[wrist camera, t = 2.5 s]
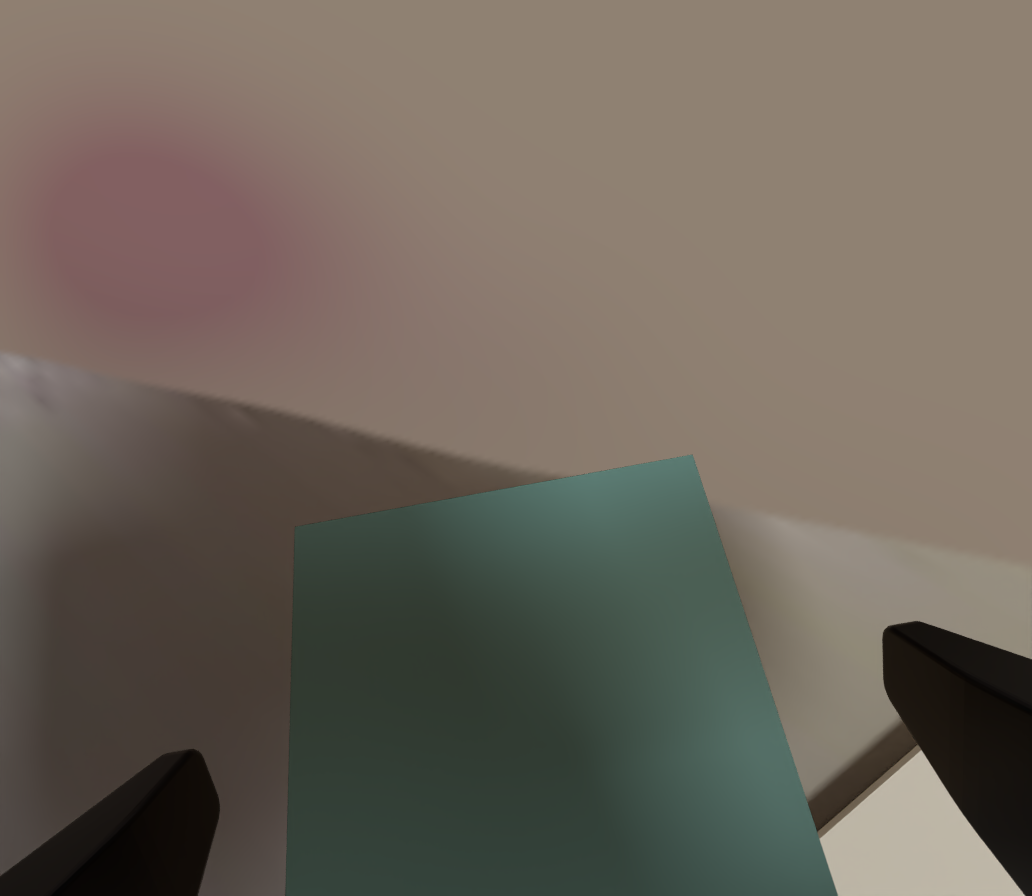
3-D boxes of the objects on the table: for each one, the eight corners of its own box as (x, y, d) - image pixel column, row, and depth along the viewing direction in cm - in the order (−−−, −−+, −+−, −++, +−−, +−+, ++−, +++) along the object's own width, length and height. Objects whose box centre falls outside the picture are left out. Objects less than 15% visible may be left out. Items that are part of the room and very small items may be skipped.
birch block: (675, 853, 14) (860, 966, 4) (494, 884, 14) (280, 1063, 4) (631, 664, 16) (693, 455, 6) (473, 692, 16) (294, 527, 6)
